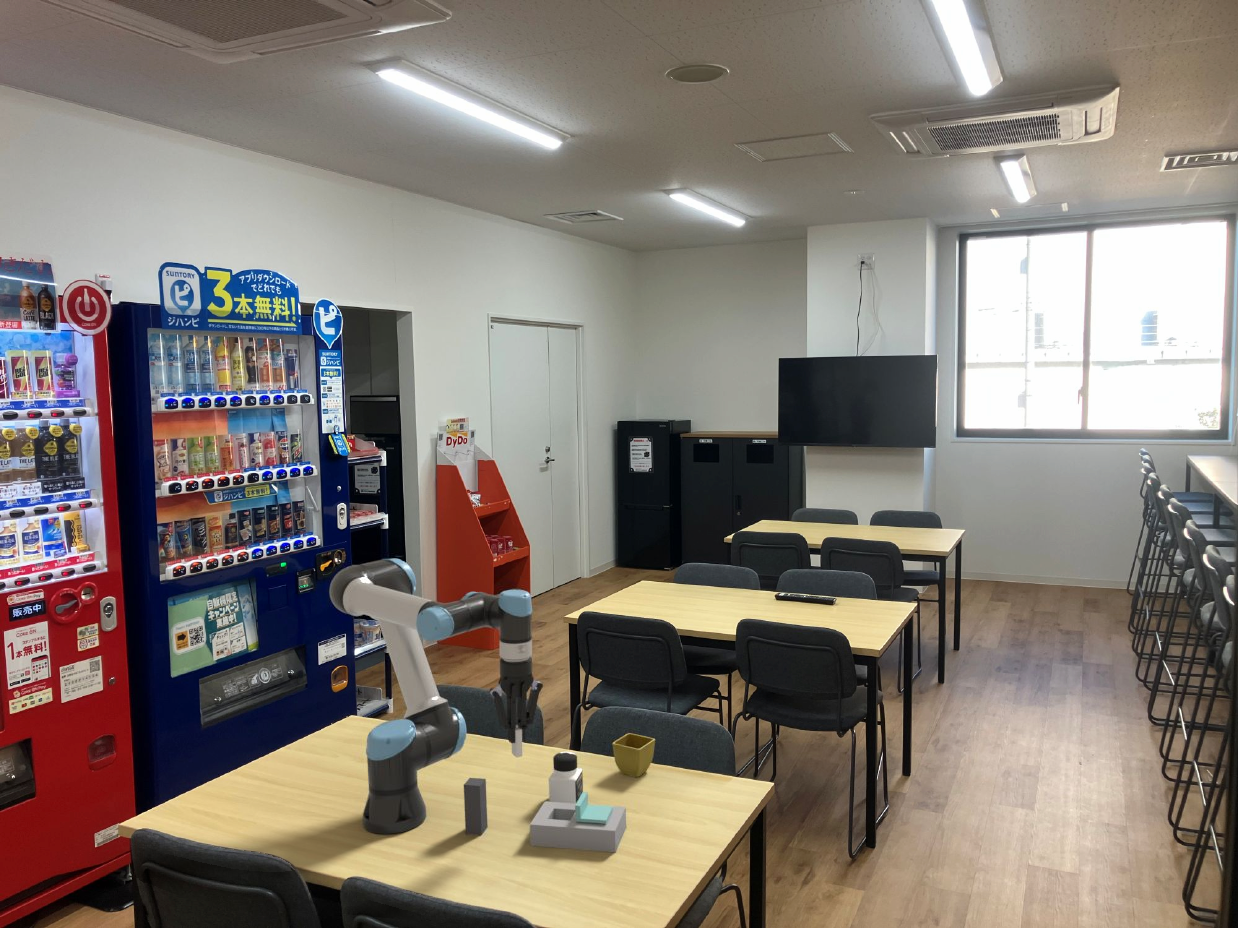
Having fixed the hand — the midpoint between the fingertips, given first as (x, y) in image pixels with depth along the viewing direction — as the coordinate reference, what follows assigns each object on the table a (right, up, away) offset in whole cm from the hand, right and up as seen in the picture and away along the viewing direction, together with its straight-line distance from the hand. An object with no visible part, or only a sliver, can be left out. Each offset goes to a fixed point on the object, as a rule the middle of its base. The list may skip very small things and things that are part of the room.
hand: (517, 754), depth 216 cm
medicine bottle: (+11, -17, +18) cm, 27 cm away
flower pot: (+28, -16, +33) cm, 46 cm away
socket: (+15, -19, -2) cm, 24 cm away
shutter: (+18, -13, -3) cm, 23 cm away
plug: (-10, -19, +3) cm, 22 cm away
